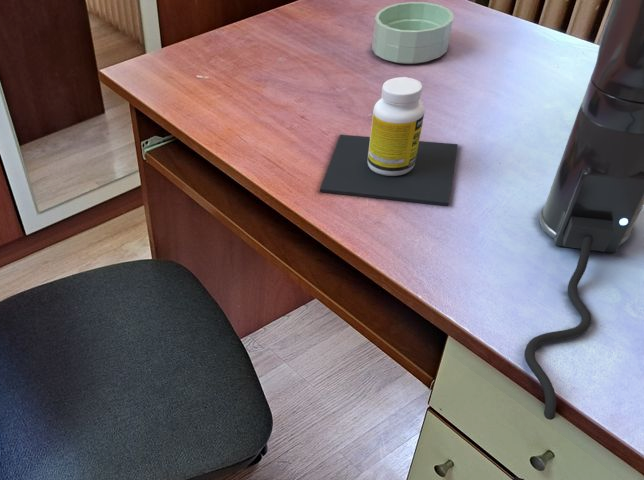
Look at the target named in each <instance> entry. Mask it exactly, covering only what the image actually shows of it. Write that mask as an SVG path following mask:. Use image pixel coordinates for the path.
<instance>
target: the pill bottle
mask: <svg viewBox="0 0 644 480" xmlns="http://www.w3.org/2000/svg"><path fill="white" fill-rule="evenodd" d="M422 91H423V84H422V82H421V81H419V80H418V79H416V78H412V77H407V76H406V77H404V76H400V77H399V76H398V77H394V78H393V77H392V78H390V79H388V80H385V82H383V85H382V88H381V98H379V99H378V101H377V102H375V104H374V105H373V106H374V107H373V111H372V119H371V128H370V135H369V137H370V143H369V151H368V166H369V168H370V169H371V170H372V171H374V172H376V173H378V174H381V175H386V176H399V175H403V174H406V173H408V172H409V171H410V170H412V169H413V167H414V165H415V161H416V156H417V150H418V145H419V141H420V138H421V133H422V128H423V122H424V117H425V105H424V103H423V101H422V100H421V97H422Z"/></svg>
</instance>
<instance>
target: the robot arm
mask: <svg viewBox="0 0 644 480" xmlns="http://www.w3.org/2000/svg"><path fill="white" fill-rule="evenodd" d="M609 7H610V8H609V11H608V14H607V17H606V20H605V23H604V26H603V29H602V31H601V37H600V41H599V46H598V52H597V57H596V61H595V64H594V67H593V70H592V73H591V75H590V78H589V82H588V84H587V86H586V90H585V93H584V95H583V98H582V101H581V104H580V105H579V108H578V111H577V114H576V117H575V120H574V123H573V125H572V128H571V131H570V133H569V137H568V140H567V142H566V145H565V147H564V150H563V153H562V156H561V158H560V161H559V164H558V167H557V169H556V172H555V175H554V178H553V181H552V183H551V186H550V189H549V192H548V195H547V198H546V201H545V204H544V205H543V207H542V209H541V212H540V215H539V223H540V226H541V229H542V230H543V231H544V232H545V234H547V235H548V236H549V237H550V238H552V239H553V240H554V245H555V246H557V247H564V248H572V249H579V250H580V253H579V257H578V260H577V264H576V267H575V269H574V272H573V273H572V275H571V277H570V280H569V281H568V284H567V295H568V298H569V301H570V302H571V304H572V306H573V307H574V308H575V310H576V311H577V312H578V314H579V316H580V320H581V321H580V323H579V324H577V325H576V326H575V327H572V328H568V329H567V328H566V329H561V330H557V331H550V332H545V333H542V334H539V335H536V336H535V337H533V338H532V339H530V340H529V342H528V343H527V344H526V346H525V349H524V355H523V356H524V360H525V362H526V365H527V366H528V368H529V370H530V371H531V372H532V373H533V375H534V376H535V378H536V379H537V381H538V382H539V384H540V386H541V388H542V390H543V394H544V412H543V416H544V418H545V419H547V420H549V421H552V420H554V419H555V417H556V411H557V395H556V391H555V388H554V386H553V384H552V383H553V382H552V381H551V379H550V377H549V376H548V375H547V373H546V372H545V370H544V368H543V367H542V366H541V365H540V364H539V362H538V360H537V358H536V350H537V348H538V347H539V346H541V345H542V344H545V343H548V342H554V341H561V340H566V339H571V338H574V337H578V336H581V335H583V334H584V333H586V332H587V331H588V329H589V328H590V327H591V324H592V319H593V317H592V315H591V312H590V311H589V309H588V308H587V306H586V305H585V304H584V302H583V301H582V300H581V297H580V296H579V292H578V288H579V284H580V281H581V280H582V277H583V276H584V274H585V272H586V269H587V266H588V264H589V263H588V262H589V260H590V255H591V252H592V251H597V252H605V253H614V254H615V253H617V252H618V249H619V247H620V246H621V245H622V244H624V243H625V242H627V240H628V239H629V238H630V236H631V234H632V232H633V229H634V226H635V224H636V222H637V219H638V217H639V215H640V214H641V211H642V209H643V207H644V0H612V1H611V3H610V6H609ZM512 480H525V478H521V477H517V476H514V477H513V479H512Z"/></svg>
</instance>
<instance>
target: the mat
mask: <svg viewBox="0 0 644 480" xmlns="http://www.w3.org/2000/svg"><path fill="white" fill-rule="evenodd" d="M337 139H338V140H337V141H336V142H337V143H336V145H335V148H334V150H333V152H332V156H331V158H330V161H329V163H328V166H327V169H326V172H325V173H324V177H323V179H322V183H321V185H320V188H319V192H320V193H325V194H326V193H327V194H336V195H344V196H345V195H346V196H354V197H364V198H372V199H380V200H381V199H382V200H390V201H391V200H392V201H398V202H399V201H400V202H408V203H417V204H427V205H434V206H435V205H436V206H445V207H448V206H449V203H450V196H451V190H452V184H453V177H454V172H455V164H456V160H457V159H456V157H457V153H458V152H457V151H458V147H459V146H458V143H449V142H435V141H423V140H422V141H421V140H419V145H418V150H417V156H416V161H415V165H414V167H413V169H412V170H410V171H409V172H408V173H406V174H403V175H399V176H386V175H381V174H378V173H376V172H374V171H372V170H371V169H370V168H369V166H368V151H369V143H370V136H362V135H351V134H339V137H338V138H337Z"/></svg>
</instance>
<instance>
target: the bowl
mask: <svg viewBox="0 0 644 480" xmlns="http://www.w3.org/2000/svg"><path fill="white" fill-rule="evenodd" d="M454 17H455V13H453V11H452V9H450V8H448V7H446V6H444V5H441V4H439V3H438V4H437V3H434V2H427V1H408V2H407V1H406V2H399V3H394V4H391V5H388V6H384V7H383V8H382V9H380V10H379V11H377V13H376V15H375V17H374V25H373V34H372V43H371V49H372V51H373V54H374V55H375V56H378V57H379V58H381V59H383V60H386V61H388V62H391V63H395V64H404V65H407V64H408V65H411V64H412V65H414V64H421V63H426V62H430V61H433V60H435V59H438V58H441V57H442V56H443V55H445V54H446V53H447V52H448V49H449V45H450V44H449V43H450V38H451V33H452V28H453V23H454Z"/></svg>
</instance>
